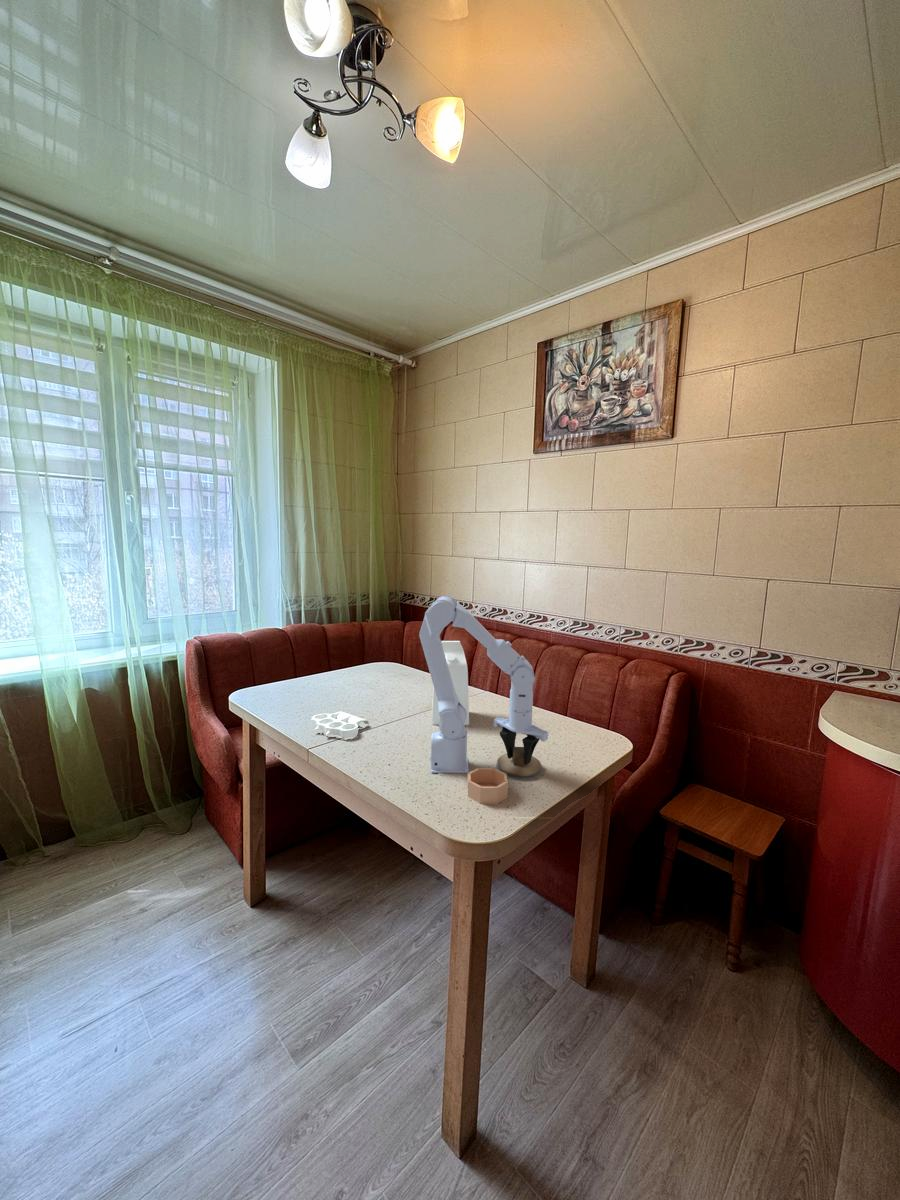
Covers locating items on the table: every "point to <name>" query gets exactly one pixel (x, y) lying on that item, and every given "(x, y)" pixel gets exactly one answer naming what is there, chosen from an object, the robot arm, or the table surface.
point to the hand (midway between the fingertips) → (519, 759)
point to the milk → (454, 677)
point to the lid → (518, 764)
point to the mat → (523, 778)
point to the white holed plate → (338, 724)
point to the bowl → (487, 785)
